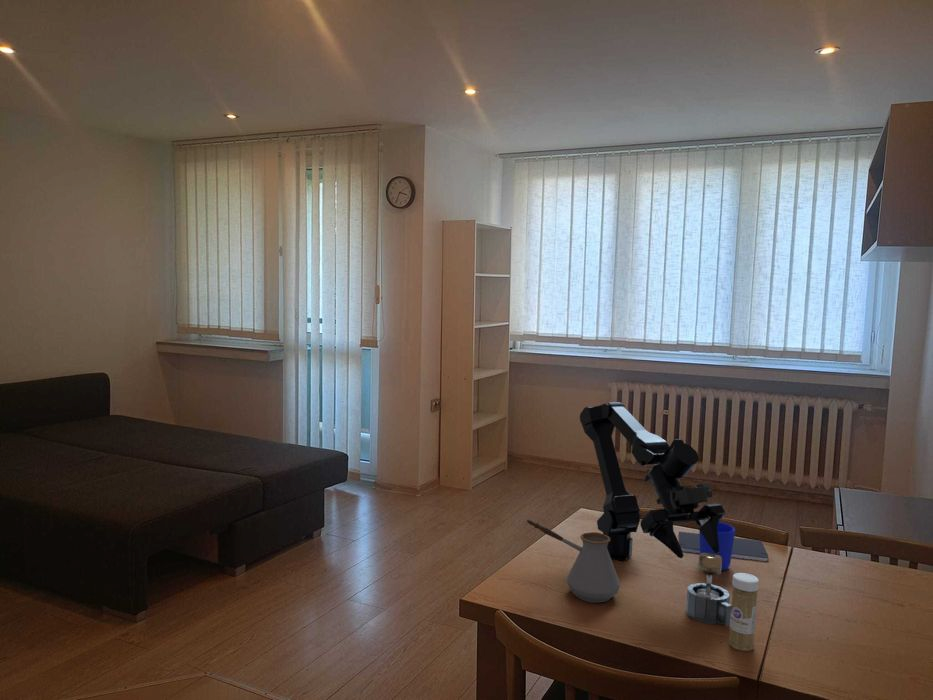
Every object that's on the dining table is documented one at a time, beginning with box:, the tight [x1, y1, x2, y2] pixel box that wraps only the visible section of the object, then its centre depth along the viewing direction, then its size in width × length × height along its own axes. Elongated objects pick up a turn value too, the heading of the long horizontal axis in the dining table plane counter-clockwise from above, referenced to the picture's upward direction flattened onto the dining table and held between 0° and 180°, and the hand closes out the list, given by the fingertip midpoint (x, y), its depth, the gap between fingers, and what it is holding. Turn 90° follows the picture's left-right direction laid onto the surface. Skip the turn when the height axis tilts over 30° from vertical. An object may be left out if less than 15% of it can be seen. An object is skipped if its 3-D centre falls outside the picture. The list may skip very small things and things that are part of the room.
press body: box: [685, 582, 732, 627], centre depth 142 cm, size 10×8×5 cm
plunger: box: [697, 553, 722, 598], centre depth 142 cm, size 4×4×8 cm
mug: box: [698, 521, 736, 571], centre depth 170 cm, size 8×12×10 cm
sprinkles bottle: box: [728, 572, 760, 652], centre depth 130 cm, size 5×5×14 cm
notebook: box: [678, 531, 769, 562], centre depth 182 cm, size 13×2×21 cm
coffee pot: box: [524, 519, 621, 603], centre depth 151 cm, size 21×12×15 cm, turn 75°
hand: (700, 555), depth 145 cm, fingers open, 9 cm apart
